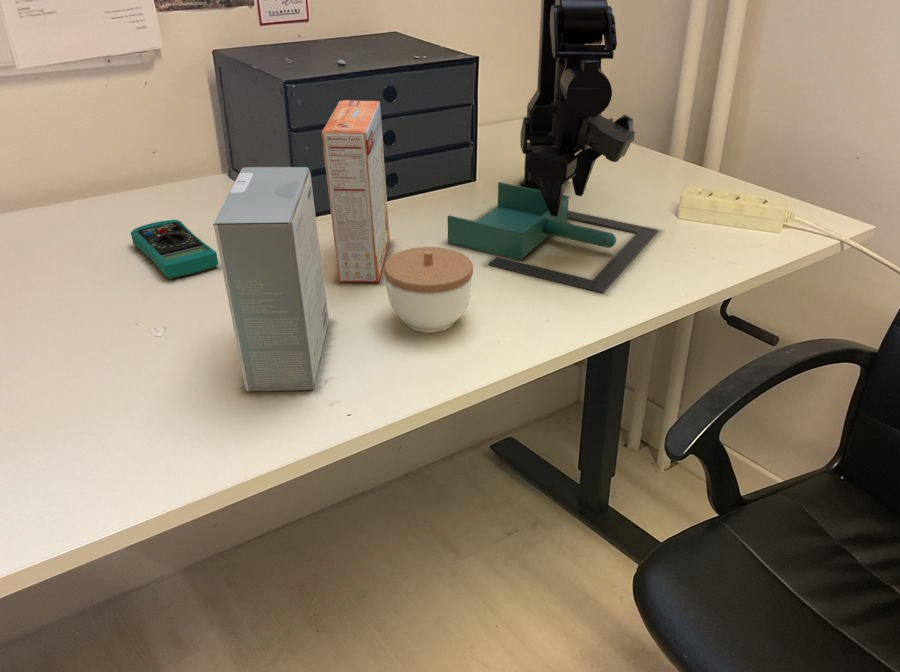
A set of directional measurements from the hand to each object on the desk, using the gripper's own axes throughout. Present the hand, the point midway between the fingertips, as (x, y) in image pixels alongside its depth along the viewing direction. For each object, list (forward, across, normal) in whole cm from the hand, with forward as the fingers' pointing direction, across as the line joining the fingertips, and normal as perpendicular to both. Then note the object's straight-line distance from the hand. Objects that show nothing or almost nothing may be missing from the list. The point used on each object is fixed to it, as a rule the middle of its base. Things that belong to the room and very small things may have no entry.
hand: (567, 205), depth 119 cm
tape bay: (+6, 0, -2) cm, 7 cm away
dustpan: (+6, 0, +4) cm, 7 cm away
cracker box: (+6, -20, +22) cm, 31 cm away
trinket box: (+6, -30, +5) cm, 31 cm away
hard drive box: (+6, -45, +15) cm, 48 cm away
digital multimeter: (+6, -32, +46) cm, 57 cm away
